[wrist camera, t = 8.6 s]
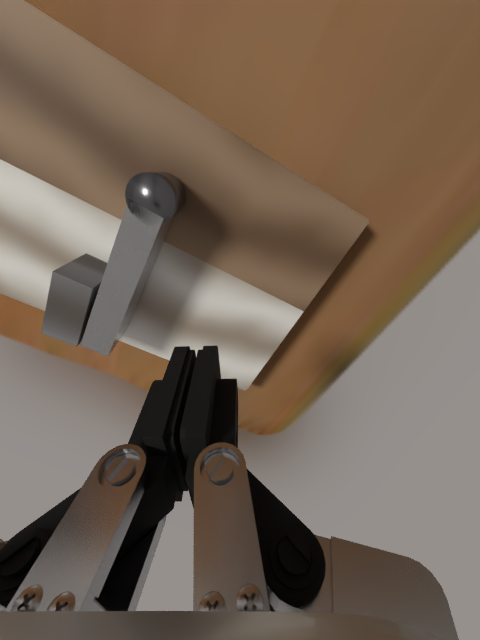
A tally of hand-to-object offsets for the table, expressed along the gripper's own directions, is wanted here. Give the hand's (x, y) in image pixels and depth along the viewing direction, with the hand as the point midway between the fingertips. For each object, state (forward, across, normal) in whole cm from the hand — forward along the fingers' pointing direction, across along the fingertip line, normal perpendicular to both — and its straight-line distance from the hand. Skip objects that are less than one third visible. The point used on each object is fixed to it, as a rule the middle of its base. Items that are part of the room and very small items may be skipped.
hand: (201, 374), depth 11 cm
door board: (+13, +5, -2) cm, 14 cm away
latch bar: (+11, +6, -1) cm, 12 cm away
